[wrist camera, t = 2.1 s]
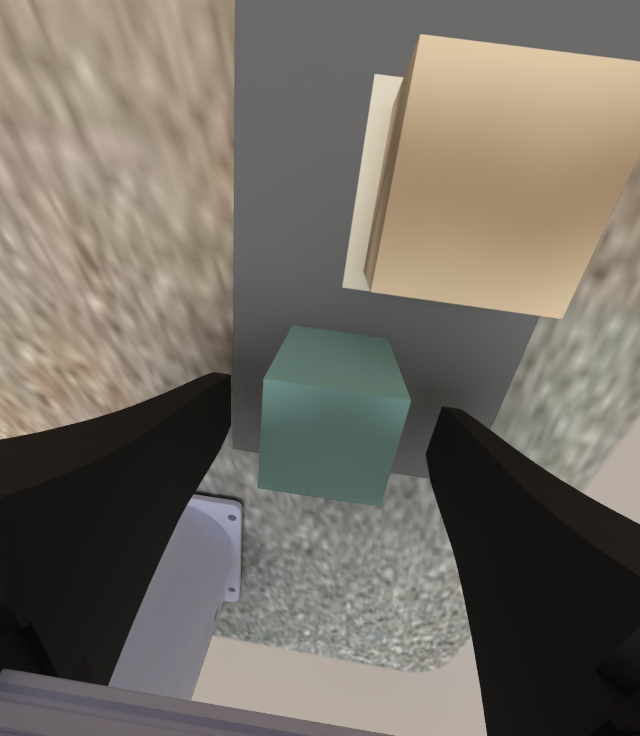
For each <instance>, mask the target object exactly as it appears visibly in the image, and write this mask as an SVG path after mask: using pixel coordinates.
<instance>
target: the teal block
mask: <svg viewBox="0 0 640 736" xmlns="http://www.w3.org/2000/svg"><path fill="white" fill-rule="evenodd" d="M410 403H411V399H410V396H409V394H408V391H407V388H406V386H405V383H404V380H403V377H402V375H401V372H400V369H399V367H398V364H397V361H396V358H395V356H394V353H393V350H392V347H391V345H390V342H389V339H387V338H380V337H373V336H366V335H359V334H352V333H345V332H338V331H331V330H324V329H317V328H310V327H303V326H296V325H292V327H291V329H290V331H289V333H288V335H287V336H286V338H285V340H284V342H283V344H282V346H281V348H280V349H279V351H278V353H277V355H276V357H275V359H274V360H273V362H272V364H271V366H270V368H269V370H268V372H267V373H266V375H265V377H264V379H263V397H262V416H261V436H260V455H259V474H258V488H261V489H268V490H274V491H281V492H287V493H294V494H300V495H307V496H313V497H320V498H326V499H333V500H339V501H346V502H352V503H359V504H365V505H372V506H379V507H380V506H381V503H382V499H383V496H384V492H385V489H386V486H387V482H388V479H389V475H390V472H391V468H392V465H393V461H394V458H395V455H396V451H397V448H398V444H399V441H400V437H401V434H402V430H403V427H404V424H405V420H406V417H407V413H408V410H409V406H410Z"/></svg>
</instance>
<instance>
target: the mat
mask: <svg viewBox="0 0 640 736" xmlns="http://www.w3.org/2000/svg"><path fill="white" fill-rule="evenodd" d="M420 34H424V35H432V36H440V37H448V38H456V39H464V40H472V41H480V42H488V43H496V44H504V45H512V46H520V47H528V48H536V49H544V50H552V51H560V52H568V53H576V54H584V55H592V56H600V57H608V58H616V59H624V60H632V61H640V0H235V96H234V307H233V449H238V450H245V451H252V452H258V453H260V436H261V416H262V397H263V379H264V377H265V375H266V373H267V372H268V370H269V368H270V366H271V364H272V362H273V360H274V359H275V357H276V355H277V353H278V351H279V349H280V348H281V346H282V344H283V342H284V340H285V338H286V336H287V335H288V333H289V331H290V329H291V327H292V325H296V326H303V327H310V328H317V329H324V330H331V331H338V332H345V333H352V334H359V335H366V336H373V337H380V338H387V339H389V342H390V345H391V347H392V350H393V353H394V356H395V358H396V361H397V364H398V367H399V369H400V372H401V375H402V377H403V380H404V383H405V386H406V388H407V391H408V394H409V396H410V399H411V403H410V406H409V410H408V413H407V417H406V420H405V424H404V427H403V430H402V434H401V437H400V441H399V444H398V448H397V451H396V455H395V458H394V461H393V465H392V468H391V472H390V473H397V474H403V475H410V476H417V477H423V478H430V477H429V472H428V466H427V460H426V451H427V448H428V445H429V442H430V440H431V437H432V434H433V431H434V428H435V425H436V422H437V419H438V416H439V413H440V411H441V408H442V406H444V407H451V408H458V409H461V410H463V411H465V412H466V413H468V414H469V415H471V416H472V417H473V418H475V419H476V420H478V421H479V422H480V423H482V424H483V425H484V426H486V427H487V428H488V429H489V430H490V429H491V427H492V424H493V422H494V420H495V418H496V415H497V413H498V411H499V408H500V406H501V404H502V402H503V399H504V397H505V395H506V392H507V390H508V388H509V386H510V383H511V381H512V379H513V376H514V374H515V372H516V370H517V367H518V365H519V363H520V360H521V358H522V356H523V354H524V351H525V349H526V347H527V344H528V342H529V340H530V338H531V335H532V333H533V331H534V328H535V326H536V324H537V322H538V319H539V317H540V316H537V315H530V314H523V313H516V312H509V311H502V310H495V309H488V308H481V307H473V306H466V305H459V304H452V303H445V302H438V301H431V300H424V299H417V298H410V297H402V296H395V295H388V294H381V293H374V292H371V291H370V289H369V286H368V283H367V280H366V277H365V275H364V272H363V270H364V265H365V259H366V254H367V248H368V242H369V237H370V231H371V225H372V220H373V214H374V208H375V203H376V197H377V191H378V186H379V180H380V174H381V169H382V163H383V157H384V152H385V146H386V140H387V135H388V129H389V124H390V118H391V112H392V107H393V104H394V101H395V98H396V96H397V93H398V91H399V88H400V85H401V83H402V80H403V78H404V75H405V73H406V70H407V67H408V65H409V62H410V60H411V57H412V54H413V52H414V49H415V47H416V44H417V41H418V39H419V36H420Z"/></svg>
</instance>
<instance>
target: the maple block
mask: <svg viewBox="0 0 640 736" xmlns="http://www.w3.org/2000/svg"><path fill="white" fill-rule="evenodd" d="M639 154H640V61H632V60H624V59H616V58H608V57H600V56H592V55H584V54H576V53H568V52H560V51H552V50H544V49H536V48H528V47H520V46H512V45H504V44H496V43H488V42H480V41H472V40H464V39H456V38H448V37H440V36H432V35H424V34H420V36H419V39H418V41H417V44H416V47H415V49H414V52H413V54H412V57H411V60H410V62H409V65H408V67H407V70H406V73H405V75H404V78H403V80H402V83H401V85H400V88H399V91H398V93H397V96H396V98H395V101H394V104H393V107H392V112H391V118H390V124H389V129H388V135H387V140H386V146H385V152H384V157H383V163H382V169H381V174H380V180H379V186H378V191H377V197H376V203H375V208H374V214H373V220H372V225H371V231H370V237H369V242H368V248H367V254H366V259H365V265H364V270H363V272H364V275H365V277H366V280H367V283H368V286H369V289H370V291H371V292H374V293H381V294H388V295H395V296H402V297H410V298H417V299H424V300H431V301H438V302H445V303H452V304H459V305H466V306H473V307H481V308H488V309H495V310H502V311H509V312H516V313H523V314H530V315H537V316H545V317H552V318H559V319H562V318H563V316H564V314H565V312H566V310H567V307H568V305H569V303H570V301H571V299H572V297H573V295H574V293H575V290H576V288H577V286H578V284H579V282H580V280H581V278H582V276H583V273H584V271H585V269H586V267H587V265H588V263H589V261H590V258H591V256H592V254H593V252H594V250H595V248H596V246H597V244H598V241H599V239H600V237H601V235H602V233H603V231H604V229H605V227H606V224H607V222H608V220H609V218H610V216H611V214H612V212H613V210H614V207H615V205H616V203H617V201H618V199H619V197H620V195H621V193H622V190H623V188H624V186H625V184H626V182H627V180H628V178H629V176H630V173H631V171H632V169H633V167H634V165H635V163H636V161H637V159H638V156H639Z"/></svg>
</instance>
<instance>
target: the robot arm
mask: <svg viewBox="0 0 640 736" xmlns="http://www.w3.org/2000/svg"><path fill="white" fill-rule="evenodd" d="M230 426H231V375H229V374H222V373H215V372H213V373H210V374H207V375H204V376H202V377H200V378H197V379H195V380H193V381H191V382H188V383H186V384H184V385H182V386H180V387H177V388H175V389H173V390H171V391H168V392H166V393H164V394H161V395H159V396H156V397H154V398H151V399H149V400H146V401H144V402H141V403H139V404H136V405H134V406H131V407H128V408H125V409H122V410H119V411H116V412H113V413H110V414H107V415H104V416H100V417H97V418H94V419H90V420H87V421H83V422H79V423H75V424H71V425H67V426H63V427H59V428H55V429H51V430H47V431H42V432H38V433H33V434H28V435H23V436H18V437H12V438H7V439H1V440H0V736H393V735H388V734H382V733H376V732H370V731H365V730H359V729H352V728H347V727H341V726H335V725H330V724H324V723H318V722H312V721H306V720H300V719H295V718H289V717H283V716H277V715H272V714H266V713H260V712H254V711H248V710H243V709H236V708H231V707H224V706H219V705H214V704H208V703H202V702H196V701H191V699H192V696H193V693H194V690H195V687H196V684H197V680H198V677H199V674H200V671H201V668H202V665H203V662H204V659H205V656H206V653H207V650H208V647H209V644H210V641H211V638H212V635H213V632H214V629H215V626H216V623H217V619H218V616H219V613H220V610H221V607H222V604H223V601H227V602H237V601H238V600H239V597H240V589H241V547H242V505H241V504H240V503H239V502H237V501H234V500H228V499H221V498H215V497H208V496H202V495H195V494H194V493H195V491H196V489H197V488H198V486H199V484H200V483H201V481H202V479H203V478H204V476H205V474H206V473H207V471H208V470H209V468H210V466H211V464H212V463H213V461H214V459H215V458H216V456H217V454H218V453H219V451H220V449H221V447H222V445H223V442H224V440H225V438H226V436H227V433H228V431H229V428H230ZM426 460H427V466H428V472H429V477H430V482H431V485H432V488H433V491H434V494H435V497H436V501H437V504H438V507H439V510H440V513H441V516H442V519H443V522H444V525H445V528H446V531H447V534H448V537H449V540H450V543H451V546H452V549H453V553H454V556H455V560H456V564H457V568H458V573H459V577H460V582H461V586H462V591H463V595H464V600H465V605H466V610H467V615H468V620H469V625H470V631H471V636H472V641H473V646H474V653H475V659H476V664H477V671H478V676H479V682H480V688H481V695H482V702H483V709H484V716H485V723H486V730H487V736H640V524H638V523H636V522H634V521H632V520H630V519H629V518H627V517H625V516H623V515H621V514H619V513H617V512H615V511H614V510H612V509H610V508H608V507H606V506H604V505H602V504H600V503H599V502H597V501H595V500H593V499H592V498H590V497H588V496H586V495H585V494H583V493H582V492H580V491H578V490H577V489H575V488H573V487H572V486H570V485H568V484H567V483H565V482H563V481H562V480H560V479H559V478H557V477H555V476H554V475H552V474H551V473H549V472H548V471H546V470H545V469H543V468H542V467H540V466H539V465H537V464H536V463H535V462H533V461H532V460H530V459H529V458H527V457H526V456H524V455H523V454H522V453H520V452H519V451H518V450H516V449H515V448H513V447H512V446H511V445H509V444H508V443H507V442H505V441H504V440H503V439H501V438H500V437H499V436H497V435H496V434H495V433H493V432H492V431H491V430H489V429H488V428H487V427H486V426H484V425H483V424H482V423H480V422H479V421H478V420H476V419H475V418H473V417H472V416H471V415H469V414H468V413H466V412H465V411H463V410H461V409H458V408H451V407H444V406H442V408H441V411H440V413H439V416H438V419H437V422H436V425H435V428H434V431H433V434H432V437H431V440H430V442H429V445H428V448H427V451H426Z"/></svg>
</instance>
